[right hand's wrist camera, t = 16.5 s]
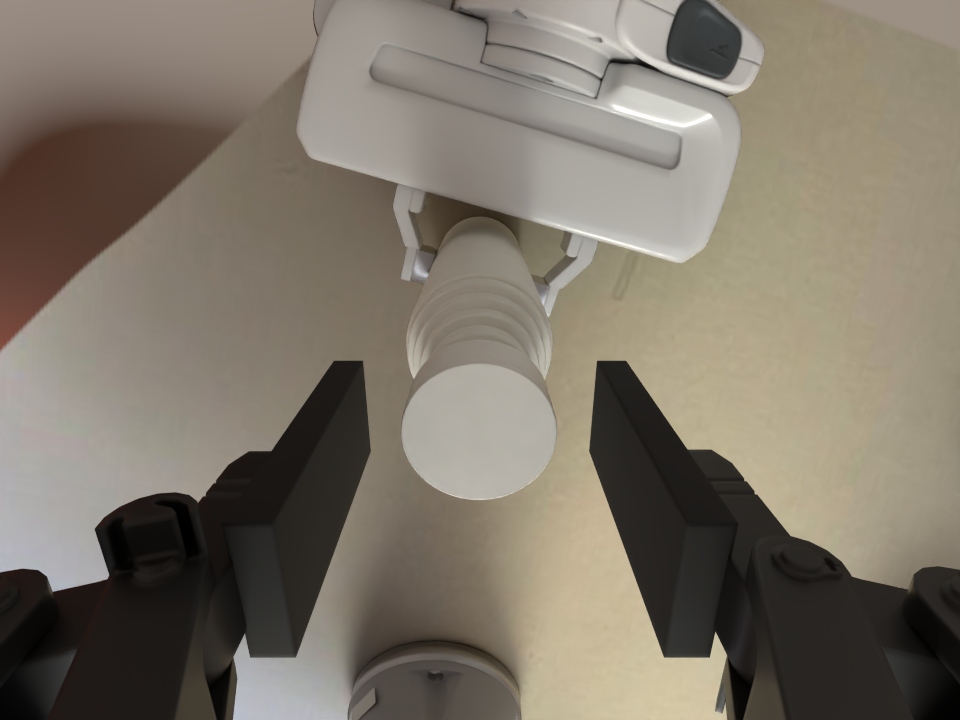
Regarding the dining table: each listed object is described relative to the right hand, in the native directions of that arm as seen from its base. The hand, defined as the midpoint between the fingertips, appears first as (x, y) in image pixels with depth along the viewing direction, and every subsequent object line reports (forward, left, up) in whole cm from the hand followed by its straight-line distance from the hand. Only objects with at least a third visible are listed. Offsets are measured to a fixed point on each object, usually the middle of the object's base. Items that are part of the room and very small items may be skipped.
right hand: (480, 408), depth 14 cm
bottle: (0, 0, -21) cm, 21 cm away
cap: (0, 0, +1) cm, 1 cm away
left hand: (-1, +1, -15) cm, 15 cm away
